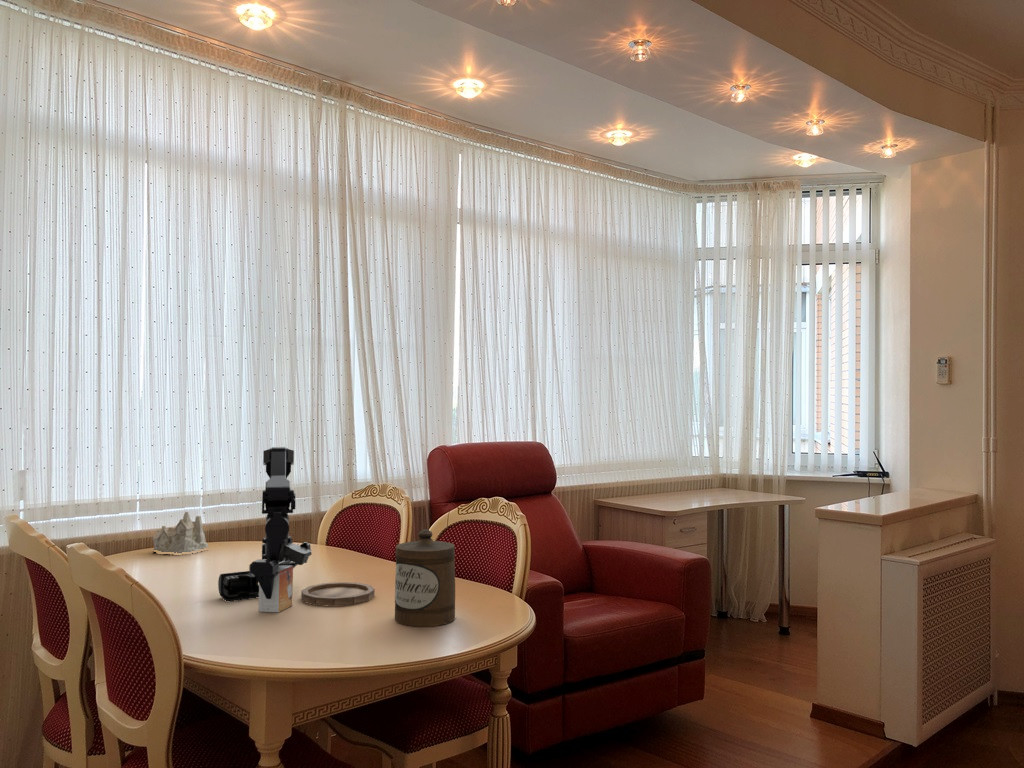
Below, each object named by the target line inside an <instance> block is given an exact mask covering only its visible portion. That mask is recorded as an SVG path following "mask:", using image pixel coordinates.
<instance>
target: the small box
mask: <svg viewBox="0 0 1024 768" xmlns="http://www.w3.org/2000/svg"><path fill="white" fill-rule="evenodd" d="M277 572H279V574H278V575H277V576H276V577H275V578H274V583H273V590H272V596H271V599H266V597H265V595H264V592H263V590H262V588H261V586H260V584H259V583H258V585H259V598H258V612H260V613H263V612H264V613H280V612H282V611H284V610H286V609H288V608H290V606H291V607H292V606H293V594H294V593H293V591H294V590H293V585H294V584H293V583H294V581H293V580H294V568H293V566H291V565H279V568H278V571H277Z"/></svg>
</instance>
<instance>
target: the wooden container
mask: <svg viewBox="0 0 1024 768" xmlns="http://www.w3.org/2000/svg"><path fill="white" fill-rule="evenodd" d="M417 535H418V537H419V539H417V540H416V541H407V542H402V543H398V544H396V546H395V578H394V579H395V583H394V620H395V622H397V623H398V624H400V625H404V626H407V627H416V628H419V627H420V628H422V627H423V628H424V627H425V628H426V627H437V626H442V625H447V624H450V623H452V622H453V621H455V618H456V568H455V566H456V565H455V559H456V554H455V553H456V552H455V551H456V549H455V548H456V547H455V544H454V543H452V542H449V541H448V542H446V541H442V540H441V541H440V540H433V532H432V531H431V530H430V529H425V528H423V529H422V530H421V531H419V532H418V534H417Z"/></svg>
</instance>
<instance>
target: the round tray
mask: <svg viewBox="0 0 1024 768" xmlns="http://www.w3.org/2000/svg"><path fill="white" fill-rule="evenodd" d="M375 592H376V591H375V588H374V587H373V586H372V585H370V584H366V583H363V582H362V583H361V582H354V581H353V582H352V581H351V582H350V581H337V582H335V581H334V582H324V583H318V584H313V585H309V586H307V587H305V588H302V589H301V595H300V596H301V597H302V598H301V600H302V599H303V600H302V602H303V601H304V602H303V603H305V602H308V603H307V604H309V603H311V604H310V605H313V604H315V605H314V606H321V605H328V606H327V607H337V606H336V605H343V606H349V605H348V604H353V605H357V604H356V603H358V604H361V603H360V602H363V603H366V602H365V601H367V602H369V601H370V599H371V600H372V599H374V598H375ZM334 605H335V606H334Z"/></svg>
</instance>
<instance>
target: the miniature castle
mask: <svg viewBox="0 0 1024 768" xmlns="http://www.w3.org/2000/svg"><path fill="white" fill-rule="evenodd" d="M205 534H206V531H205V530H204V528H203V522H202V516H201V515H196V516H195V520H194V521H192V519H191V517H190V514H189V511H185V512H184V514H183V518H181V519H179V521H178V523H177V524H176V525H175V526H173V527H168V528H166V525H163V526H162V525H161V530H160V529H159V530H157V531H156V533H155V534H154V535H153V537H152V541H153V549H152V551H153V550H158V551H161V552H174V553H176V552H177V553H182V552H191V551H197V550H199V549H204V548H207V547H208V548H209V545H208V543H207V541H206V536H205Z"/></svg>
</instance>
